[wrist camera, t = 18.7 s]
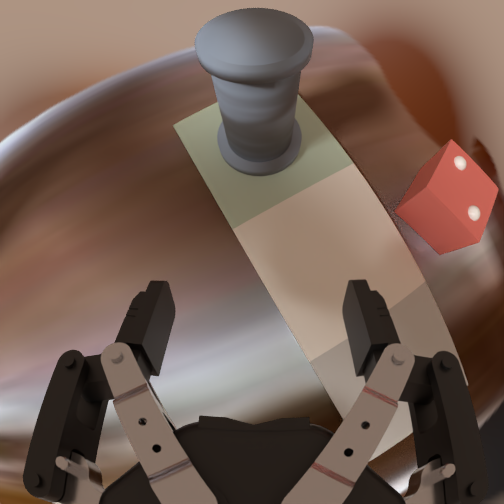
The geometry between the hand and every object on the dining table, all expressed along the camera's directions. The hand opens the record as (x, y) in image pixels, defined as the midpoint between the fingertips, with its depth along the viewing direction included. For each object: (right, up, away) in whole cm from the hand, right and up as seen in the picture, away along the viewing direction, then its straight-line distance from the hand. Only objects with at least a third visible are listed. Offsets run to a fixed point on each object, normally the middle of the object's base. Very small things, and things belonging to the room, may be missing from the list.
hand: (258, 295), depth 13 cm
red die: (+14, +5, +6) cm, 16 cm away
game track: (+5, +1, +6) cm, 8 cm away
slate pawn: (0, +10, +7) cm, 13 cm away
